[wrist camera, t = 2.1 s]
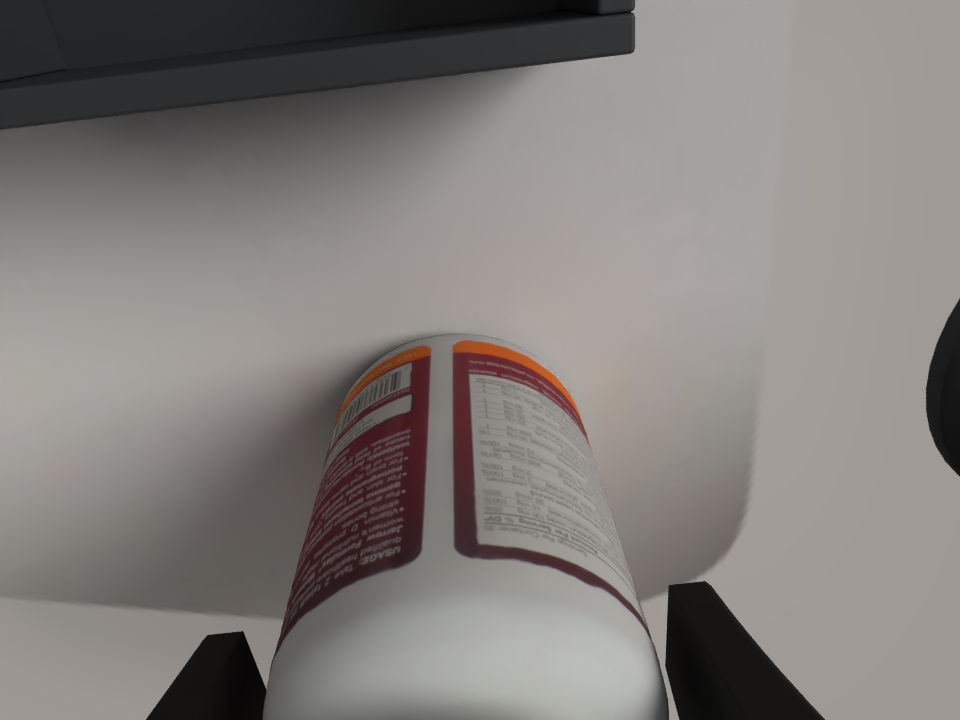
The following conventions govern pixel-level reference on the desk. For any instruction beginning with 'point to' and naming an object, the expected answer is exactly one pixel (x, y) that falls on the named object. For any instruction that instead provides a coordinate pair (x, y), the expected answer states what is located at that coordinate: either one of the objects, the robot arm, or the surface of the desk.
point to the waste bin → (273, 48)
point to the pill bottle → (462, 555)
